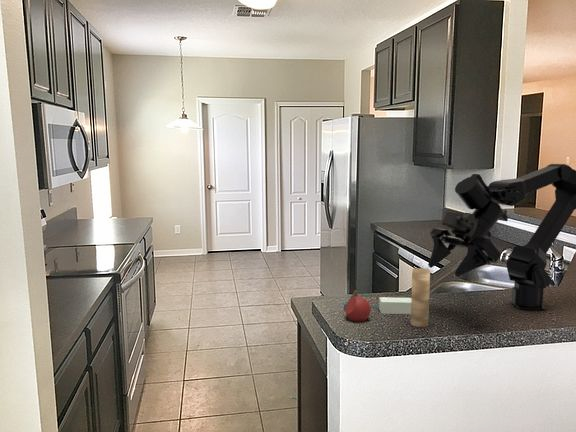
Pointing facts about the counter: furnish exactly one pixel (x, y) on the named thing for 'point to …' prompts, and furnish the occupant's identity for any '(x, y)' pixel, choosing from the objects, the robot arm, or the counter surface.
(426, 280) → the oak post
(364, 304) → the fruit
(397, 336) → the counter surface
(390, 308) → the white block
